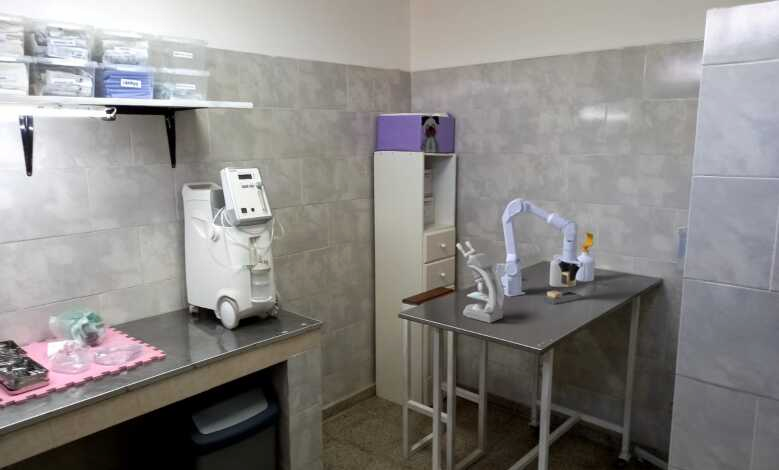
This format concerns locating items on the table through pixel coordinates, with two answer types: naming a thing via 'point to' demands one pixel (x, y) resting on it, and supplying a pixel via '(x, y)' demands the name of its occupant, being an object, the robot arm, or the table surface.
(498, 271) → the medicine box
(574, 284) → the tan wooden block
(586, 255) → the soap bottle
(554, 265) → the pill bottle
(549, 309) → the table surface
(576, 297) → the grey rectangular tray
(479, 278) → the microscope
